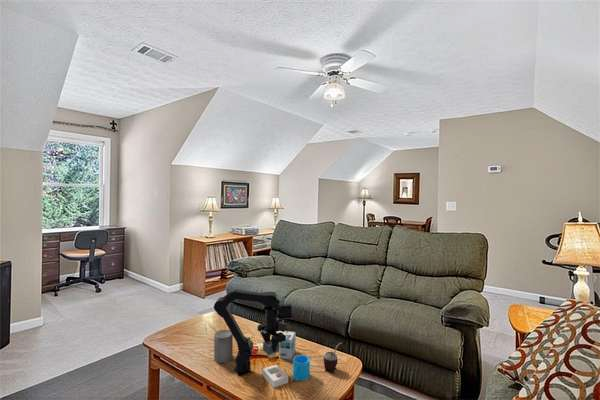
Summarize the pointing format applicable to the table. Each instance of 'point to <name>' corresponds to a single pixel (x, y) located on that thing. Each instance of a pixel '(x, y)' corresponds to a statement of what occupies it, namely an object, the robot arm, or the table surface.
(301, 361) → the mug
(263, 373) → the socket
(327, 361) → the mate gourd
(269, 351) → the plug
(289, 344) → the light bulb box
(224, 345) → the pillar candle
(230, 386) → the table surface
